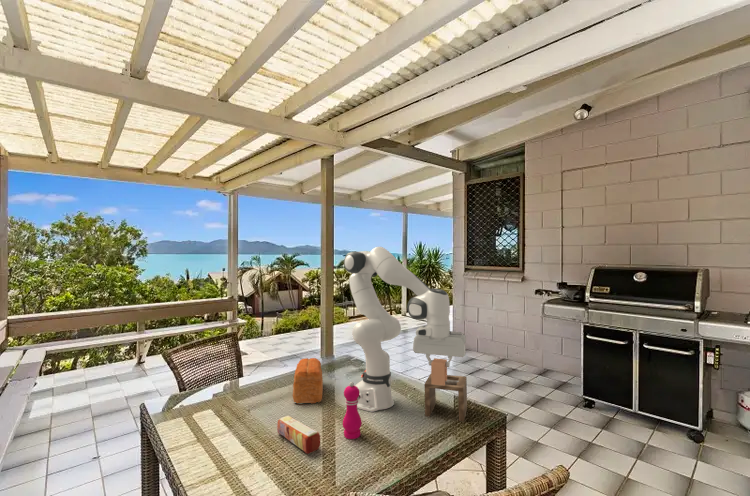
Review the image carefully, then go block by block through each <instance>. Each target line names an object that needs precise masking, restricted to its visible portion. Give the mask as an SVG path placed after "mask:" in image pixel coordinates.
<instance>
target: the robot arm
mask: <svg viewBox="0 0 750 496" xmlns="http://www.w3.org/2000/svg"><path fill="white" fill-rule="evenodd" d="M343 259H344V260H343V266H344V269H345V270H346V271H347V272H348V273H350V274H351V275H350V276H349V279H348V281H349V282H348V283H349V288H350V292H351V295H352V298H353V301H354V304H355V307H356V310H357V311H358V312H359V314H361V315H363V316H364V317H366V318H367V319H365V320H362V321H359V322H357V323H355V324H354V326H353V328H352V330H351V331H352V338H353V340H354V342H355V343H356V344H358V345H359V346H360V347H361V349H362V351H363V354H364V358H365V370H363V371H364V372H363V373H362V374H361V375H360V376H361V377H360V378H361V379H362V380H360V381H359V382H357V383H356V384H354V386H356V387H358V389H359V392H360V394H359V397H358V404H357V409H359V410H363V411H367V412H370V413H371V412H376V411H382V410H386V409H389V408H392V407H393V405H394V404H395V401H394V399H393V393H392V387H391V385H392V373H391V368H390V366H391V365H390V362H391V361H390V360H391V359H390V355H389V353H388V352H387V351H386V350H384V349H383V347H382V342H386V341H391V340H393V339H395V338H397V337H399V335H400V334H401V330H402V329H401V328H402V326H401V323H400V321H399V319H398V318H397V317H395V316H392V315H391V314H390V313H389V312H388V311H387V310H386V309H385V308H384V306H383V305H382V304H381V301H380V300H379V298H378V296H377V292H376V291H375V288H374V286H373V283H372V278H374V277H375V278H376V277H377V276H378V277H379V278H380V279H381V280H382V281H383V282H385V283H386V284H388V285H392V286H393V285H394V286H399V287H403V288H404V287H405V288H406V289H409V290H410V291H412V292H413V293H414V295H416V296H414V297H411V298H410V299H409V301H408V302H407V307H406V308H407V309H406V310H407V313H408V314H409V316H410V317H411V318H412V319H413V320H416V321H420V320H425V321H426V325H423V326H419V327H417V329H416V330H415V336H414V338H413V343H412V344H413V345H412V351H413V353H415V354H423V355H425V358H426V360H427V361H428V366H430V367H431V363H432V361H433V360H434V359H432V358H431V357H430V356H432V355H435V356H445V357H447V361H446V362H445V367H447V368H450V367H451V366H450V365H451V361H452V359H453V357H455V358H456V357H457V358H463V357H464V356H465V355H466V342H467V336H466V334H465V333H463V332H462V331H453V330H452V331H451V321H450V313H451V310H450V309H451V307H450V306H451V305H450V298H449V294H448V293H447V291H445V290H444V289H440V288H430V287H429V286H428V285H427V284H426V283H425V282H423V280H421V278H419V277H418V275H416V274H415V273H413V272H412V271H411V270H409V269H407V268H406V267H405V266H404V264H402V263H401V262H400V261H399V260H398V259H397V258H396V257H395V255H393V253H391V252H390V251H389V250H388V249H386V248H385V247H382V246H376V247H374V248H372V249H371V250H370V251H368V250H364V251H362V250H361V251H357V250H356V251H350V252H348V253H347V254H346V255H345V257H344V258H343ZM344 401H345V400H344ZM345 402H346V401H345ZM345 402H344V403H345ZM345 406H347V405H346V403H345Z"/></svg>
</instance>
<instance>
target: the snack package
mask: <svg viewBox="0 0 750 496" xmlns="http://www.w3.org/2000/svg"><path fill="white" fill-rule="evenodd" d="M276 427H277V433H278V435H281V436H282V437H284V438H285V439H287V440H288V441H289V442H290V443H292V444H293V445H295V446H296V447H297V448H299V449H300V450H302V451H303V452H304V453H305V454H312V453H314V452H316V451H318V449H319V448H320V446H321V434H320V432H319V431H317V430H315V429H313V428H312V427H310V426H308V425H306V424H304V423H302V422H301V421H298V420H297V419H294V418H293V417H292V416H291V415H286V416H283V417H281V418H279V419H278V421H277V424H276Z"/></svg>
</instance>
